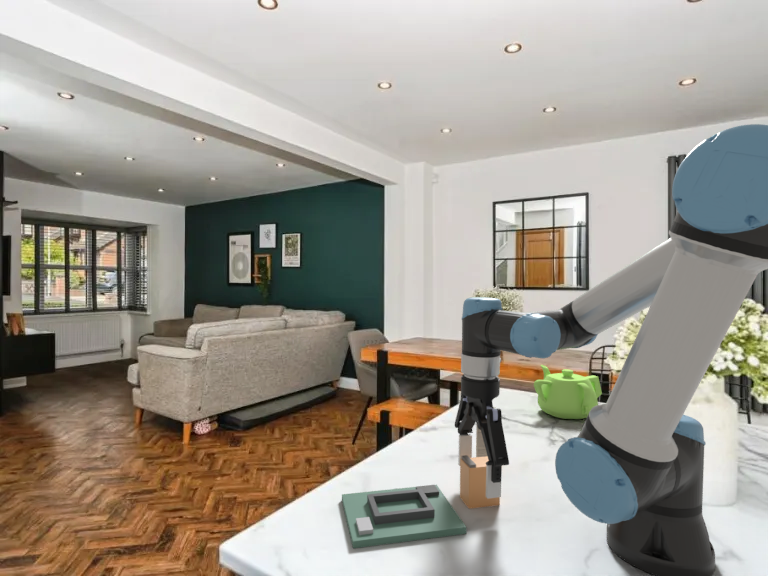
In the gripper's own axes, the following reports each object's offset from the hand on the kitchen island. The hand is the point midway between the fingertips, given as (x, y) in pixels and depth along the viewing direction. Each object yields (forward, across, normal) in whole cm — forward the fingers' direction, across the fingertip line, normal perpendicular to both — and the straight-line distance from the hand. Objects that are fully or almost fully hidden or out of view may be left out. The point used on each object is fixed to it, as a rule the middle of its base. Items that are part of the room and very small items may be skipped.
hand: (478, 479), depth 89 cm
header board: (+4, -2, +17) cm, 17 cm away
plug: (+4, 0, 0) cm, 4 cm away
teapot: (+5, +47, -52) cm, 70 cm away
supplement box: (+5, +15, -9) cm, 18 cm away
